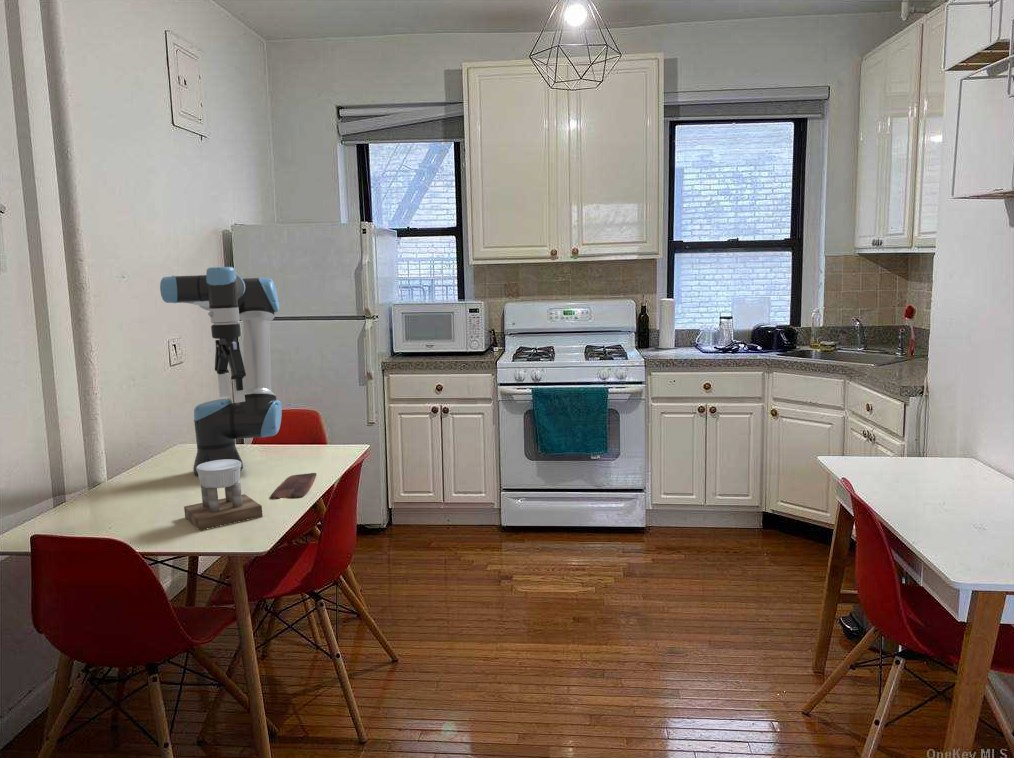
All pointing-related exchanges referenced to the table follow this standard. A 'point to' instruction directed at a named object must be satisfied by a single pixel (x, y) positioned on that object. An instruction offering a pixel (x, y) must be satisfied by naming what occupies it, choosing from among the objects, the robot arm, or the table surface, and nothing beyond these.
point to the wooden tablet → (294, 486)
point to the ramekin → (219, 473)
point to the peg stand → (222, 508)
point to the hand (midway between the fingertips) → (232, 399)
